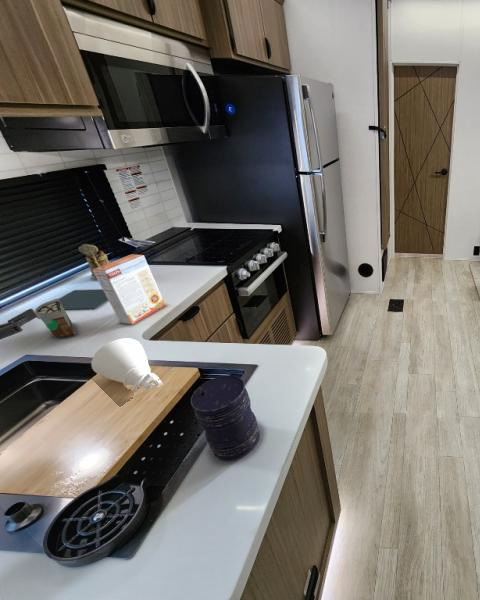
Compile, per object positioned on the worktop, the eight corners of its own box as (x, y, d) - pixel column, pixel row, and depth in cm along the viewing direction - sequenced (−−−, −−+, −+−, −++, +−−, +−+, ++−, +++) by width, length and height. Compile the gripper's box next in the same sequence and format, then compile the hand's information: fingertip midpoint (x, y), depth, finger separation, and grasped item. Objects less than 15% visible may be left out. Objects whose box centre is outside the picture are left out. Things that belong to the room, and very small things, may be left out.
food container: (48, 329, 113) (32, 304, 108) (72, 322, 117) (57, 297, 112) (50, 345, 105) (32, 318, 100) (75, 337, 109) (59, 311, 104)
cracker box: (153, 303, 128) (131, 253, 118) (166, 305, 126) (145, 254, 116) (118, 323, 116) (90, 268, 106) (132, 325, 115) (105, 270, 104)
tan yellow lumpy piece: (90, 285, 142) (69, 246, 133) (94, 274, 152) (74, 237, 143) (115, 280, 146) (97, 241, 138) (118, 270, 156) (100, 233, 148)
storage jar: (264, 420, 78) (250, 372, 71) (255, 457, 70) (237, 407, 62) (220, 426, 77) (200, 378, 69) (205, 465, 68) (181, 414, 61)
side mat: (40, 310, 124) (39, 309, 124) (74, 291, 138) (74, 290, 138) (94, 309, 125) (94, 308, 125) (123, 289, 139) (123, 288, 138)
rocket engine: (149, 368, 80) (110, 333, 86) (117, 411, 78) (80, 372, 84) (187, 374, 91) (150, 343, 97) (160, 412, 88) (124, 377, 95)
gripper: (-125, 375, 78) (-28, 326, 97) (-15, 370, 79) (60, 322, 98) (-151, 350, 75) (-45, 304, 93) (-36, 345, 76) (46, 300, 94)
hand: (9, 313), depth 96 cm, fingers open, 13 cm apart
